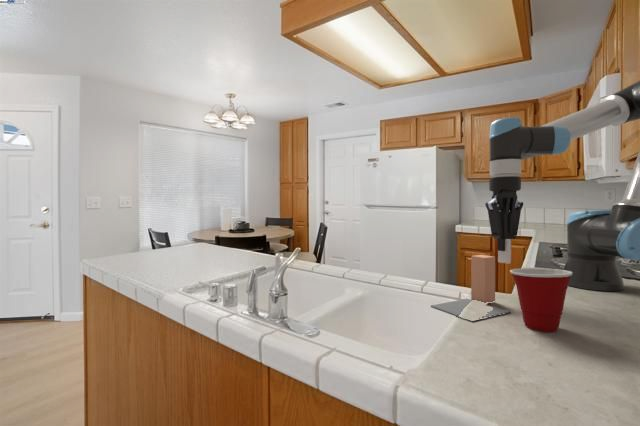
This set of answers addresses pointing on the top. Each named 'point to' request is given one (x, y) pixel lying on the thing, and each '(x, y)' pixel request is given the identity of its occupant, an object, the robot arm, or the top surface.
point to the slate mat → (459, 305)
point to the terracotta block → (483, 278)
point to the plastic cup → (541, 296)
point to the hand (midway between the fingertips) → (504, 262)
